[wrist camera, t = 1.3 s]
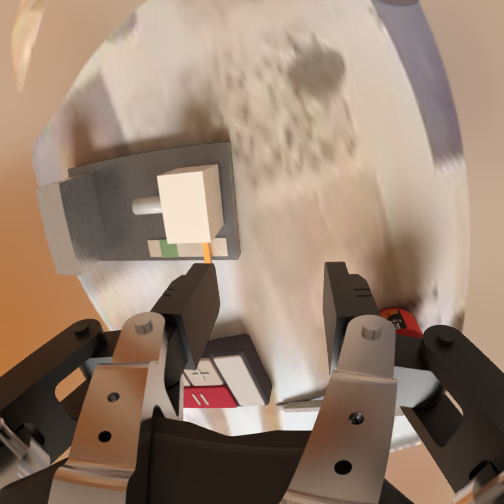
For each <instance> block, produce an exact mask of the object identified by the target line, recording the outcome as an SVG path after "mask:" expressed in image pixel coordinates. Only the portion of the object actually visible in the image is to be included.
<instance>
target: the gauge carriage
mask: <svg viewBox="0 0 504 504" xmlns="http://www.w3.org/2000/svg"><path fill="white" fill-rule="evenodd" d="M157 180H158V187H159V194H160V196H155V197H145V198H136V199H134V200H133V203H132V209H133V212H134V214H135V215H141V214H154V213H162V214H163V220H164V226H165V232H166V237H167V243H168V244H177V243H202V247H203V254H204V260H205V263H212V260H211V252H210V245H209V243H211V242H212V240H213V239H214V238H215V236H216V235H217V233H218V232H219V231H220V229H221V228H222V226H223V225H224V219H223V210H222V200H221V190H220V180H219V170H218V164H212V165H201V166H191V167H182V168H177V169H174V170H172V171H169V172H166V173H164V174H161V175H159V176H157Z"/></svg>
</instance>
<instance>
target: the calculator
mask: <svg viewBox="0 0 504 504" xmlns="http://www.w3.org/2000/svg"><path fill="white" fill-rule="evenodd" d="M182 378H183V381H184V394H183V408H236V407H237V406H260V405H268V404H269V401H270V396H271V390H272V385H271V383H270V381H269V378H268V376H267V374H266V372H265V370H264V367H263V365H262V363H261V361H260V359H259V356H258V354H257V352H256V350H255V348H254V345H253V343H252V341H251V339H250V336H249V335H247V334H243V335H237V336H232V337H226V338H220V339H217V340H213V341H207V344H206V346H205V349H204V351H203V354H202V356H201V359H200V361H199V364H198V366H197V369H196V371H195V370H186V369H184V371H183V374H182Z"/></svg>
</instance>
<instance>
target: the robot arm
mask: <svg viewBox="0 0 504 504" xmlns="http://www.w3.org/2000/svg"><path fill="white" fill-rule="evenodd" d="M379 1H382V2H384V3H388V4H392V5H398V6H407V5H412V4H415V3H417V2H418V1H420V0H379ZM162 295H163V296H161V297H160V299H159V300H158V301H157V303H156V304H155V305H154V307H153V308H152V310H151V311H150V312H145V313H140V314H137V315H135V316H133V317H131V318H129V319H128V320H127V321H126V322H125V323H124V325H123V327H122V330H118V331H109V332H104V331H103V329H102V327H101V324H100V322H99V321H97V320H95V319H85V320H81V321H78V322H76V323H74V324H72V325H71V326H69V327H68V328H67V329H65V330H64V331H62V332H61V333H60V334H58V335H57V336H55V337H54V338H53V339H51V340H50V341H48V342H47V343H46V344H44V345H43V346H42V347H40V348H39V349H37V350H36V351H35V352H33V353H32V354H30V355H29V356H28V357H26V358H25V359H24V360H22V361H21V362H20V363H18V364H17V365H16V366H14V367H13V368H12V369H10V370H9V371H8V372H6V373H5V374H4V375H3V376H1V377H0V504H414V503H413V502H412V501H410V500H409V499H408V498H407V497H405V496H404V495H403V494H402V493H401V492H400V491H399V490H397V489H396V488H395V487H394V486H393V485H392V484H390V483H389V482H388V481H387V480H386V479H385V478H384V476H385V471H386V466H387V461H388V455H389V450H390V444H391V437H392V430H393V423H394V415H395V406H396V405H398V406H400V408H401V410H402V412H403V413H404V415H405V416H406V418H407V419H408V421H409V422H410V424H411V425H412V427H413V428H414V430H415V431H416V433H417V434H418V436H419V437H420V439H421V440H422V442H423V443H424V445H425V446H426V448H427V450H428V451H429V452H430V454H431V455H432V457H433V459H434V460H435V462H436V464H437V465H438V467H439V468H440V470H441V471H442V473H443V474H444V476H445V478H446V479H447V481H448V483H449V484H450V486H451V487H452V489H453V491H454V492H455V494H456V495H455V497H454V499H453V502H452V504H504V373H503V372H502V371H501V370H500V369H499V368H498V367H497V366H496V365H495V364H493V362H491V361H490V359H489V358H487V357H486V356H485V355H484V354H483V353H482V352H481V351H480V350H479V349H478V348H477V347H476V346H475V345H474V344H473V343H472V342H470V340H469V339H467V338H466V337H465V336H464V335H463V334H462V333H461V332H460V331H458V330H457V329H455V328H453V327H450V326H446V325H434V326H431V327H429V328H428V329H426V330H425V332H424V334H423V337H422V338H416V337H409V336H404V335H400V334H397V333H396V331H395V327H394V325H393V324H392V323H391V322H390V321H389V320H387V319H385V318H383V317H381V315H380V313H379V310H378V308H377V305H376V303H375V300H374V298H373V297H372V293H371V290H370V288H369V285H368V283H367V281H366V280H365V279H364V278H363V277H361V276H360V275H359V274H349V273H348V270H347V267H346V264H345V262H325V267H324V290H323V316H324V324H325V333H326V342H327V352H328V362H329V374H330V375H331V377H330V381H329V384H328V387H327V390H326V393H325V396H324V399H323V402H322V405H321V408H320V410H319V413H318V416H317V419H316V421H315V424H314V427H313V430H312V431H286V430H275V431H269V432H263V433H256V434H249V435H241V436H226V435H223V434H220V433H217V432H214V431H212V430H209V429H206V428H204V427H201V426H198V425H196V424H193V423H191V422H186V421H183V394H184V381H183V378H182V374H183V371H184V369H186V370H195V371H196V369H197V366H198V364H199V361H200V359H201V356H202V354H203V351H204V349H205V346H206V344H207V341H208V339H209V336H210V334H211V331H212V329H213V326H214V324H215V321H216V319H217V316H218V314H219V309H220V298H219V291H218V284H217V277H216V270H215V266H214V264H213V263H194V264H193V265H192V267H191V268H190V270H189V271H188V272H187V274H186V275H181V276H180V277H178V278H177V279H175V280H174V281H172V282H171V284H170V285H169V286H168V288H167V290H165V292H164V293H163V294H162ZM78 367H79V368H80V369H81V371H82V373H83V375H84V377H85V378H86V381H84V382H83V383H82V384H81V385H80V386H79V387H77V388H76V389H75V390H74V391H73V392H72V393H70V394H69V395H68V396H67V397H66V398H64V399H63V400H62V401H61V402H59V401H58V399H57V398H56V396H55V388H56V386H57V385H58V383H60V382H61V381H62V380H63V379H64V378H66V377H67V376H68V375H69V374H71V373H72V372H73V371H74V370H76V369H77V368H78ZM446 390H447V391H448V392H449V393H450V395H451V396H452V397H453V398H454V400H455V401H456V402H457V403H458V404H459V406H460V407H461V409H462V411H463V416H464V417H463V416H462V414H461V413H460V412H459V410H458V409H457V408H456V407H455V406H454V404H453V403H452V402H451V401H450V399H449V398H448V397H447V396H446V394H445V392H446ZM24 423H25V424H24ZM70 446H71V449H70V453H69V457H67V458H65V459H63V460H61V461H59V462H57V463H55V464H53V465H51V464H52V463H53V462H54V461H55V460H56V459H57V458H58V457H59V456H61V455H62V454H63V453H64V452H65V451H66V450H67V449H68V448H69V447H70ZM50 465H51V466H50Z"/></svg>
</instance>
